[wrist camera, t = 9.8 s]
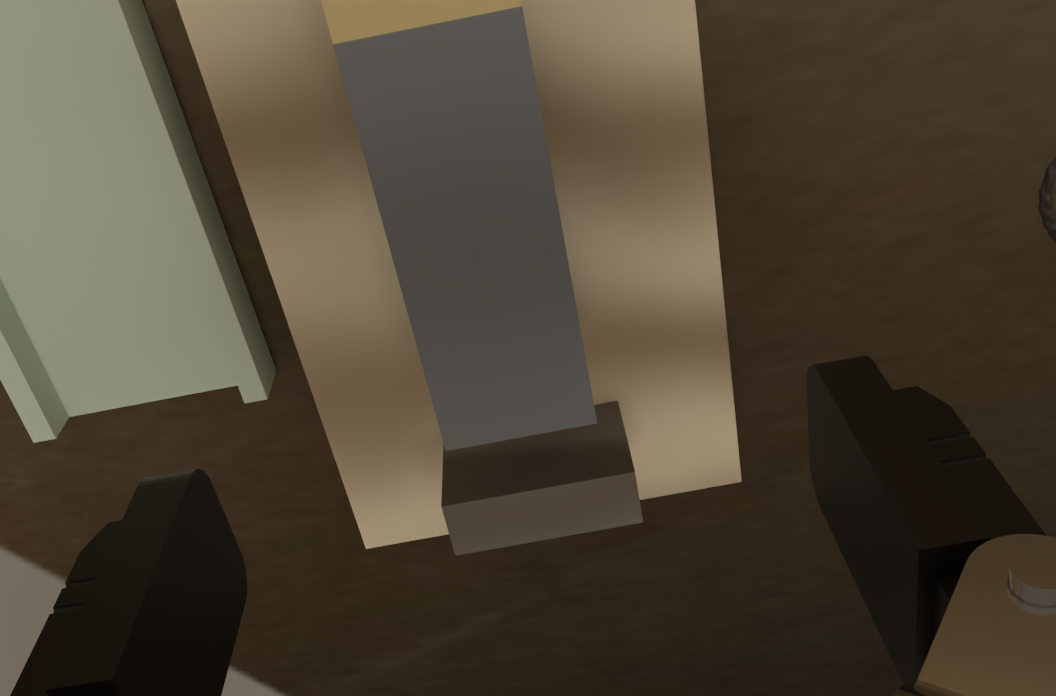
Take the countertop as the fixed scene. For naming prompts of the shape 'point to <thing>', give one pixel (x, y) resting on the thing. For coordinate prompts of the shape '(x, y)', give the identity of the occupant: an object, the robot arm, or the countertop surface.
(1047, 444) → the countertop surface
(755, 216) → the countertop surface
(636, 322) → the flat beige board
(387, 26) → the long gray brick
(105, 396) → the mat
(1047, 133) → the countertop surface
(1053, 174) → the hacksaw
